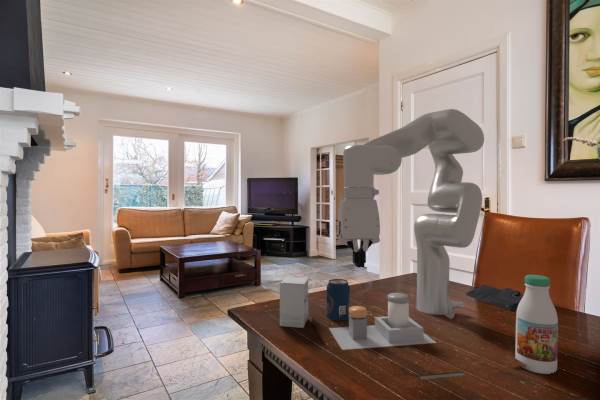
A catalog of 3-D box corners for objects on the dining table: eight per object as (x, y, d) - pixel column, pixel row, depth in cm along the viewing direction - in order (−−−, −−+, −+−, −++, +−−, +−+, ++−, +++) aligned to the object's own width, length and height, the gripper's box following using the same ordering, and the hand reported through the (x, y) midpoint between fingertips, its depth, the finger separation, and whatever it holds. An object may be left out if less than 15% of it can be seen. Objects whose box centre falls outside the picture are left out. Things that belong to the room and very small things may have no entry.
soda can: (323, 318, 107) (323, 279, 107) (344, 316, 109) (344, 277, 108) (330, 326, 100) (331, 284, 100) (353, 324, 102) (353, 283, 102)
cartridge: (403, 329, 95) (403, 292, 94) (412, 337, 89) (413, 298, 89) (384, 330, 94) (384, 293, 93) (392, 338, 88) (393, 299, 88)
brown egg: (363, 326, 92) (363, 305, 92) (368, 333, 88) (369, 311, 88) (346, 327, 91) (346, 306, 91) (352, 334, 87) (352, 312, 87)
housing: (411, 328, 99) (411, 305, 99) (436, 348, 86) (436, 322, 86) (328, 333, 95) (328, 309, 95) (342, 356, 82) (342, 328, 82)
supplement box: (304, 328, 99) (304, 284, 98) (278, 326, 100) (278, 282, 100) (308, 319, 106) (309, 277, 106) (285, 317, 108) (285, 276, 107)
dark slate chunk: (492, 291, 137) (492, 279, 137) (549, 309, 116) (549, 295, 116) (461, 295, 132) (462, 282, 132) (515, 314, 111) (515, 300, 111)
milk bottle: (507, 358, 81) (508, 272, 81) (538, 357, 82) (540, 272, 81) (532, 376, 73) (534, 281, 73) (566, 374, 74) (568, 280, 74)
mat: (438, 353, 84) (438, 351, 84) (464, 375, 74) (464, 372, 74) (398, 356, 82) (398, 354, 82) (420, 379, 72) (420, 376, 72)
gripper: (380, 193, 94) (381, 261, 94) (326, 194, 91) (327, 264, 92) (392, 194, 86) (393, 268, 87) (333, 195, 84) (334, 271, 85)
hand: (359, 266), depth 89 cm, fingers closed
